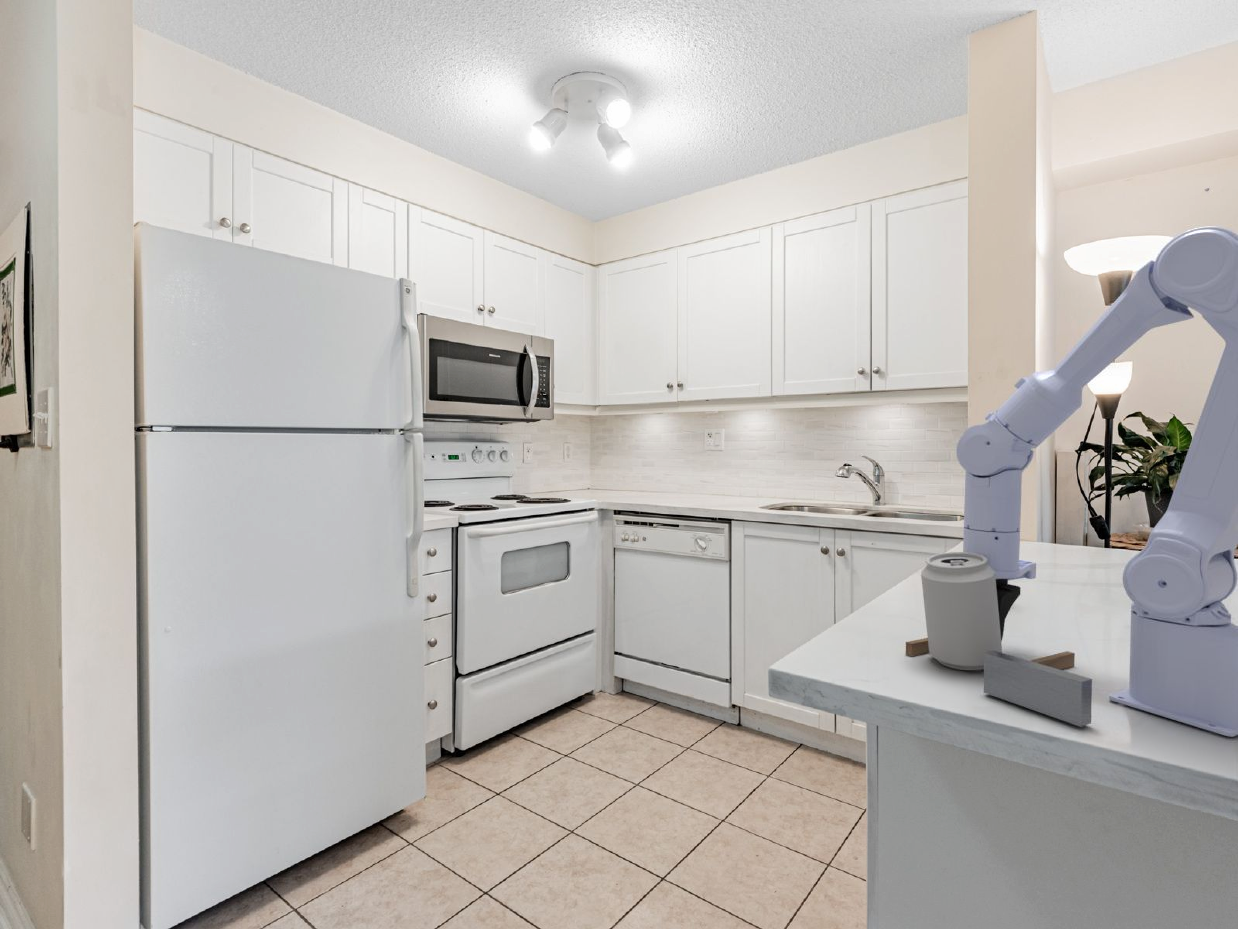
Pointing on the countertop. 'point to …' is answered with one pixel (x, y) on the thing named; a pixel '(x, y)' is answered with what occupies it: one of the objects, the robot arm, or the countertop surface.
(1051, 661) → the pair of wooden slats
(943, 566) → the can
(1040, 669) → the bar
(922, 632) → the countertop surface
